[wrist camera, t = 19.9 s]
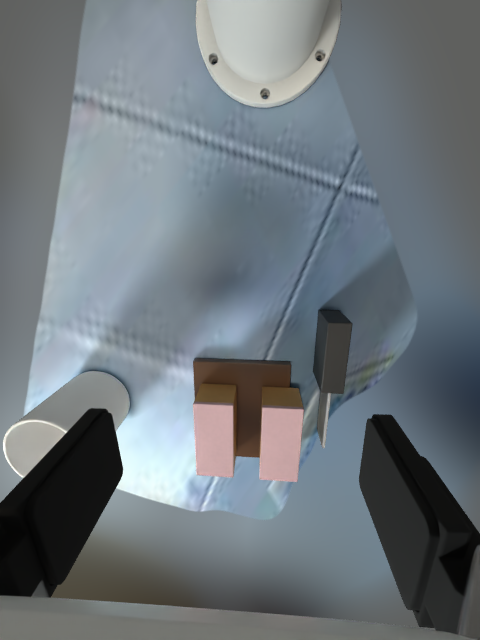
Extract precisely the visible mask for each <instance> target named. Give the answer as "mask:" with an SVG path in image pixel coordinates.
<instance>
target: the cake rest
mask: <svg viewBox="0 0 480 640" xmlns="http://www.w3.org/2000/svg"><path fill="white" fill-rule="evenodd" d="M193 411H194V432H195V452H196V472H197V475H203V476H219V477H233V476H234V467H235V459H236V423H237V385H223V384H201V385H200V388H199V391H198V393H197V396H196V398H195V401H194V403H193Z"/></svg>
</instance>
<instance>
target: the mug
mask: <svg viewBox="0 0 480 640" xmlns="http://www.w3.org/2000/svg"><path fill="white" fill-rule="evenodd" d="M129 407H130V399H129V395H128V392H127V390H126V388H125V387H124V385H123V384H122V383H121V382H120V381H119V380H118V379H116V378H115V377H113V376H112V375H110V374H107V373H104V372H100V371H89V372H85V373H82V374H80V375H78V376H76V377H75V378H73V379H72V380H70V381H69V382H68V383H66V384H65V385H64V386H63V387H61V388H60V389H59V390H57V391H56V392H55V393H54V394H52V395H51V396H50V397H48V398H47V399H46V400H45V401H43V402H42V403H41V404H39V405H38V406H37V407H36V408H34V409H33V410H32V411H30V412H29V413H28V414H27V415H25V416H24V417H23V418H21V419H20V420H19V421H18V422H16V423H15V424H14V425H13V426H11V427H10V428H9V430H8V431H7V433H6V435H5V437H4V441H3V449H4V454H5V457H6V459H7V461H8V463H9V464H10V466H11V467H12V468H13V470H14V471H15V472H16V473H17V474H18V475H20V476H21V477H22V478H24V477H25V476H26V475H27V474H28V473H29V472H30V471H31V470H32V469H33V468H34V467H35V466H36V464H37V463H38V462H39V461H40V460H41V459H42V458H43V457H44V456H45V455H46V454H47V453H48V452H49V451H50V450H51V449H52V447H53V446H54V445H55V444H56V443H57V442H58V441H59V440H60V439H61V438H62V437H63V436H64V435H65V434H66V433H67V431H68V430H69V429H70V428H71V427H72V426H73V425H74V424H75V423H76V422H77V421H78V420H79V419H80V418H81V417H82V416H83V414H84V413H85V412H86V411H87V410H88V409H91V408H102V409H107V410H108V412H109V413H111V414H112V416H113V421H114V426H115V431H116V430H117V429H118V427H119V426H120V425H121V423H122V422H123V421H124V419H125V417H126V416H127V414H128V411H129Z"/></svg>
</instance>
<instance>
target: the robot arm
mask: <svg viewBox="0 0 480 640" xmlns="http://www.w3.org/2000/svg"><path fill="white" fill-rule="evenodd" d="M341 8H342V4H341V0H197V4H196V29H197V39H198V42H199V46H200V50H201V54H202V57H203V59H204V62H205V65H206V67H207V69H208V71H209V73H210V74H211V76H212V78H213V80H214V81H215V82H216V83H217V84H218V86H219V87H220V88H221V89H222V90H223V91H224V92H225V93H226V94H228V95H229V96H230V97H231V98H233V99H234V100H236V101H238V102H240V103H242V104H245V105H249V106H252V107H260V108H269V107H275V106H280V105H283V104H285V103H287V102H290V101H292V100H294V99H295V98H297V97H298V96H300V95H301V94H303V93H304V92H305V91H306V90H307V89H308V88H309V87H310V86H311V85H312V84H313V83H314V82H315V81H316V80H317V78H318V77H319V75H320V74H321V73H322V71H323V70H324V68H325V66H326V64H327V62H328V60H329V58H330V56H331V53H332V51H333V48H334V45H335V43H336V40H337V35H338V31H339V27H340V20H341ZM317 58H320V59H321V61H317V60H316V59H317ZM213 62H217V63H216V64H215V65H212V64H213ZM264 95H267V97H268V98H267V99H263V98H262V97H263V96H264ZM122 474H123V466H122V461H121V456H120V451H119V446H118V441H117V436H116V431H115V426H114V421H113V416H112V414H111V413H109V412H108V410H107V409H102V408H91V409H88V410H87V411H86V412H85V413H84V414H83V416H82V417H81V418H80V419H79V420H78V421H77V422H76V423H75V424H74V425H73V426H72V427H71V428H70V429H69V430H68V431H67V433H66V434H65V435H64V436H63V437H62V438H61V439H60V440H59V441H58V442H57V443H56V444H55V445H54V446H53V447H52V449H51V450H50V451H49V452H48V453H47V454H46V455H45V456H44V457H43V458H42V459H41V460H40V461H39V462H38V463H37V464H36V466H35V467H34V468H33V469H32V470H31V471H30V472H29V473H28V474H27V475H26V476H25V477H24V478H23V479H22V480H21V482H20V483H19V484H18V485H17V486H16V487H15V488H14V489H13V490H12V491H11V492H10V493H9V494H8V495H7V496H6V497H5V499H4V500H3V501H2V502H1V503H0V640H480V533H479V532H478V531H477V529H476V528H475V526H474V525H473V524H472V522H471V521H470V519H469V518H468V516H467V515H466V514H465V512H464V511H463V509H462V508H461V507H460V505H459V504H458V502H457V501H456V499H455V498H454V497H453V495H452V494H451V493H450V491H449V490H448V488H447V487H446V485H445V484H444V482H443V481H442V480H441V478H440V477H439V475H438V474H437V473H436V471H435V470H434V468H433V467H432V466H431V464H430V463H429V462H428V461H427V459H426V458H424V457H422V456H420V455H419V454H418V452H417V451H416V449H415V448H414V446H413V445H412V443H411V442H410V440H409V439H408V438H407V436H406V435H405V433H404V432H403V430H402V429H401V427H400V426H399V424H398V423H397V422H396V420H395V419H394V418H393V416H392V415H379V414H378V415H376V414H374V415H373V416H372V419H368V420H367V423H366V431H365V438H364V445H363V453H362V460H361V467H360V475H359V483H360V488H361V491H362V494H363V496H364V499H365V501H366V504H367V507H368V509H369V512H370V515H371V517H372V520H373V523H374V525H375V528H376V531H377V533H378V536H379V539H380V541H381V544H382V546H383V549H384V552H385V554H386V557H387V560H388V563H389V565H390V568H391V570H392V573H393V576H394V578H395V581H396V584H397V586H398V589H399V592H400V594H401V597H402V600H403V602H404V604H405V606H406V608H407V609H408V610H413V612H414V615H415V618H416V620H417V622H418V625H419V627H428V628H435V629H436V630H430V629H424V628H417V627H410V626H399V625H390V624H381V623H371V622H361V621H351V620H340V619H327V618H315V617H303V616H291V615H278V614H267V613H255V612H242V611H229V610H215V609H202V608H189V607H176V606H162V605H149V604H135V603H121V602H106V601H91V600H77V599H63V598H51V596H52V594H53V592H54V590H55V589H56V587H57V585H60V584H62V582H63V581H64V580H65V579H66V577H67V575H68V573H69V572H70V570H71V568H72V566H73V564H74V563H75V561H76V559H77V557H78V555H79V553H80V552H81V550H82V548H83V546H84V544H85V543H86V541H87V539H88V537H89V536H90V534H91V532H92V530H93V528H94V526H95V525H96V523H97V521H98V519H99V517H100V516H101V514H102V512H103V510H104V508H105V507H106V505H107V503H108V501H109V499H110V497H111V496H112V494H113V492H114V490H115V489H116V487H117V485H118V483H119V481H120V480H121V477H122ZM31 596H32V597H31Z"/></svg>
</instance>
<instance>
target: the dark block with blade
mask: <svg viewBox="0 0 480 640" xmlns="http://www.w3.org/2000/svg"><path fill="white" fill-rule="evenodd" d="M351 331H352V322H351V321H350V320H349V319H348V318H347V317H346V316H344V315H343V314H342V313H341V312H340V311H339V310H319V311H318V322H317V333H316V345H315V356H314V367H313V372H314V375H315V378H316V380H317V383H318V386H319V388H320V391H321V392H320V402H319V412H318V422H317V431H318V434H319V438H320V441H321V445H322V447H323V448H325V441H326V432H327V424H328V415H329V406H330V397H331V393H336V394H343V393H344V386H345V378H346V370H347V362H348V355H349V347H350V339H351Z"/></svg>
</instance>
